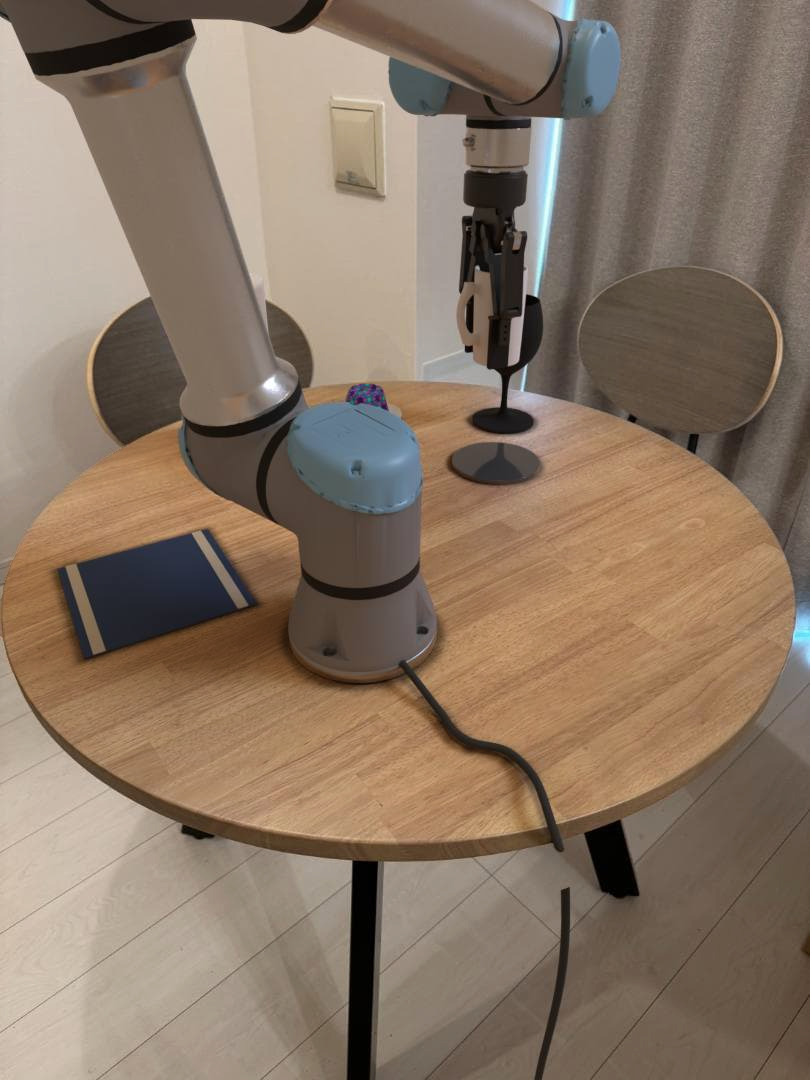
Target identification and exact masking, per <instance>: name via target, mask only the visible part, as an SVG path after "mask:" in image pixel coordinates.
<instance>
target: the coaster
mask: <svg viewBox="0 0 810 1080" xmlns="http://www.w3.org/2000/svg"><path fill="white" fill-rule="evenodd" d="M451 465H452V468H453V469H454V471H455V472H456V473H458V475H460V476H462V477H464V478H466V479H468V480H471V481H474V482H478V483H481V484H482V483H483V484H487V485H488V484H489V485H511V484H518V483H522V482H525V481H528V480H530V479H532V478H534V477H535V476H536V475H537V474H538V473H539V471H540V467H541V461H540V458H539V457H538V455H536V453H534V452H533V451H531V450H530V449H528V448H525V447H524V446H520V445H517V444H513V443H509V442H501V441H500V442H499V441H485V442H484V441H483V442H476V443H471V444H468V445H465V446H463V447H461V448H459V449H457V450H456V451H455V452H454V454H453V455H452V457H451Z"/></svg>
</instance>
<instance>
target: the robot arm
mask: <svg viewBox="0 0 810 1080" xmlns="http://www.w3.org/2000/svg"><path fill="white" fill-rule="evenodd" d="M0 18H2V19H3V20H4V21H7V22H8V23H10V24H11V26H12V29H13V31H14V33H15V36H16V38H17V40H18V42H19V45H20V47H21V49H22V51H23V54H24V55H25V58H26V61H27V62H28V65H29V67H30V70H31V72H32V74H33V76H34V79H35V80H36V81H38V82H40V83H42V84H43V85H45V86H46V87H48V88H50V89H51V90H53V91H55V92H56V93H58V94H60V95H62V96H63V97H64V98H65V99H66V100H67V102H68V103H69V105H70V107H71V109H72V111H73V114H74V116H75V118H76V120H77V123H78V125H79V128H80V130H81V133H82V135H83V138H84V140H85V143H86V144H87V147H88V149H89V152H90V154H91V157H92V159H93V161H94V164H95V167H96V169H97V171H98V173H99V176H100V178H101V181H102V183H103V186H104V188H105V190H106V193H107V195H108V197H109V200H110V202H111V205H112V207H113V210H114V212H115V214H116V217H117V219H118V222H119V224H120V226H121V228H122V231H123V233H124V236H125V239H126V240H127V243H128V245H129V247H130V250H131V253H132V255H133V257H134V260H135V263H136V265H137V267H138V269H139V272H140V274H141V276H142V278H143V282H144V284H145V286H146V288H147V291H148V293H149V295H150V298H151V300H152V303H153V305H154V307H155V310H156V312H157V315H158V317H159V319H160V322H161V324H162V327H163V329H164V331H165V334H166V336H167V339H168V341H169V343H170V347H171V348H172V350H173V353H174V355H175V357H176V361H177V362H178V365H179V367H180V370H181V372H182V374H183V377H184V379H185V381H186V386H185V388H184V389H183V391H182V393H181V395H180V397H179V409H180V412H181V416H180V419H181V421H182V424H181V426H180V427H179V428H178V429H177V438H178V439H177V442H178V449H179V452H180V455H181V458H182V460H183V461H182V462H183V463H184V465H185V467H186V468H187V469H188V471H189V472H190V474H191V475H192V476H193V477H194V478H195V479H196V480H197V481H198V482H199V483H201V484H202V485H203V486H204V487H205V488H206V489H207V490H208V491H211V492H212V493H213V494H214V495H216V496H219V497H220V498H223V499H225V500H227V501H230V502H232V503H235V504H236V505H238V506H240V507H242V508H244V509H246V510H248V511H250V512H252V513H254V514H256V515H258V516H260V517H262V518H264V519H266V520H268V521H270V522H271V523H274V524H276V525H277V526H280V527H282V528H284V529H285V530H287V531H289V532H291V533H292V534H294V535H295V536H296V538H297V543H298V554H299V563H300V579H299V581H298V586H297V589H296V592H295V595H294V599H293V602H292V606H291V609H290V612H289V616H288V627H287V630H288V637H289V639H288V640H289V645H290V649H291V652H292V654H293V655H294V657H295V658H296V660H297V661H298V662H299V663H300V664H301V665H302V666H303V667H305V668H306V669H307V670H309V671H311V672H313V673H314V674H316V675H318V676H321V677H323V678H326V679H329V680H332V681H336V682H343V683H352V684H366V683H367V684H368V683H377V682H382V681H388V680H390V679H391V680H392V679H394V678H396V677H400V676H402V675H404V674H406V676H407V678H409V680H410V681H411V683H413V685H414V686H415V687H416V689H417V690H418V692H419V693H420V694H421V696H423V698H424V699H425V701H426V702H427V703H428V705H429V706H430V707H431V708H432V710H433V711H434V712H435V714H436V715H437V716H438V718H439V719H440V720H441V722H442V723H443V725H444V726H445V728H446V730H447V731H448V732H449V733H450V734H451V735H452V736H453V738H455V739H456V740H458V741H459V742H461V743H462V744H464V745H465V746H468V747H471V748H474V749H479V750H483V751H490V752H494V753H498V754H501V755H504V756H506V757H508V758H509V759H510V760H512V762H514V763H515V764H516V765H517V766H518V767H519V768H520V769H521V770H522V771H523V772H524V773H525V774H526V776H527V777H528V779H529V780H530V782H531V784H532V785H533V787H534V789H535V792H536V794H537V797H538V800H539V804H540V807H541V810H542V814H543V817H544V820H545V823H546V826H547V830H548V832H549V836H550V838H551V841H552V845H553V848H554V849H555V851H557V852H558V853H564V851H565V846H564V843H563V839H562V836H561V834H560V831H559V828H558V825H557V821H556V819H555V816H554V812H553V809H552V806H551V803H550V800H549V796H548V794H547V791H546V788H545V786H544V784H543V782H542V780H541V778H540V776H539V775H538V774H537V771H536V770H535V769H534V768H533V767H532V765H531V764H530V762H528V761H527V760H526V759H525V758H524V757H523V756H521V754H519V753H518V752H517V751H515V749H512V748H511V747H509V746H507V745H504V744H501V743H498V742H493V741H492V742H491V741H486V740H480V739H476V738H473V737H471V736H469V735H467V734H465V733H464V732H462V731H461V730H460V729H458V727H457V726H456V725H455V724H454V722H453V721H452V719H451V718H450V717H449V715H448V714H447V712H446V711H445V710H444V708H443V707H442V706H441V704H440V703H439V702H438V701H437V699H436V698H435V697H434V696H433V694H432V693H431V692H430V689H428V688H427V686H426V685H425V684H424V682H423V681H422V680H421V678H420V677H419V676H418V675H417V674H416V672H415V671H414V670H413V669H415V668H416V667H418V666H420V664H422V663H423V662H424V661H425V660H426V659H427V658H428V657H429V656H430V654H431V653H432V651H433V649H434V647H435V645H436V641H437V637H438V635H437V634H438V618H437V612H436V608H435V605H434V603H433V600H432V597H431V594H430V591H429V589H428V587H427V584H426V581H425V578H424V576H423V574H422V571H421V538H422V537H421V533H422V500H423V499H422V497H423V492H422V491H423V486H424V485H423V484H424V483H423V482H424V477H423V471H424V470H423V467H422V464H421V449H420V444H419V440H418V437H417V435H416V434H415V432H414V430H413V429H412V428H411V426H410V425H409V424H408V423H407V422H406V421H404V420H403V419H402V417H401V418H399V417H398V416H396V415H394V414H393V413H391V412H389V411H386V410H384V409H381V408H379V407H375V406H372V405H367V404H362V403H360V404H359V405H351V404H350V403H349V402H346V401H334V402H332V401H331V402H325V403H324V402H323V403H320V404H316V405H314V406H311V407H309V406H308V403H307V401H306V397H305V394H304V391H303V388H302V384H301V380H300V377H299V375H298V372H297V370H296V368H295V366H294V365H293V364H292V363H290V362H289V361H287V360H285V359H283V358H281V357H278V356H276V354H275V351H274V347H273V344H272V341H271V339H270V334H269V335H268V332H269V330H268V331H267V328H266V325H265V322H264V319H263V316H262V312H261V309H260V306H259V303H258V300H257V297H256V294H255V290H254V287H253V284H252V281H251V278H250V275H249V273H250V271H249V268H248V265H247V263H246V259H245V256H244V253H243V250H242V246H241V243H240V240H239V237H238V234H237V231H236V227H235V224H234V221H233V218H232V214H231V212H230V208H229V205H228V203H227V199H226V196H225V193H224V190H223V186H222V183H221V180H220V177H219V174H218V171H217V167H216V164H215V161H214V157H213V155H212V152H211V149H210V145H209V142H208V139H207V136H206V132H205V130H204V129H205V128H204V127H203V122H202V120H201V117H200V114H199V110H198V107H197V105H196V101H195V98H194V95H193V92H192V88H191V86H190V83H189V80H188V76H187V64H188V62H189V61H188V60H189V59H190V56H191V54H192V51H193V49H194V47H195V45H196V43H197V40H198V35H197V34H196V30H195V27H194V24H193V20H213V21H215V20H217V21H218V20H219V21H220V20H221V21H235V22H236V21H237V22H245V23H251V24H254V25H257V26H262V27H265V28H267V29H270V30H273V31H275V32H278V33H281V34H285V35H297V34H300V33H303V32H304V31H306V30H308V29H310V28H311V27H315V28H317V29H320V30H322V31H324V32H327V33H329V34H331V35H335V36H336V37H339V38H342V39H344V40H347V41H350V42H352V43H355V44H357V45H359V46H362V47H365V48H367V49H370V50H371V51H375V52H377V53H380V54H382V55H385V56H387V57H389V58H388V71H387V73H388V84H389V88H390V92H391V94H392V97H393V99H394V101H395V102H396V103H397V105H398V106H399V107H400V108H401V109H402V110H403V111H405V112H406V113H407V114H411V115H414V116H424V117H426V118H427V117H436V116H438V115H457V116H459V115H461V116H465V137H463V139H462V141H461V142H462V146H463V147H464V164H465V165H466V166H467V167H469V169H467V170H466V171H465V172H464V173H463V188H462V190H463V192H462V201H463V203H464V204H465V205H466V206H468V207H471V208H473V211H472V215H470V214H469V215H462V217H461V231H462V232H461V233H462V239H461V251H460V252H461V253H460V265H459V266H460V267H459V281H458V293H459V294H460V295H461V293H462V290H463V287H464V282H473V283H474V279H475V267H476V266H477V265H478V266H479V268H480V271H483V272H488V273H489V272H490V282H491V294H492V306H493V315H492V316H488V319H489V334H488V352H487V366H486V369H487V370H489V371H491V370H494V369H499V368H507V367H508V358H509V344H510V330H511V320H512V318H515V317H521V316H522V304H523V276H524V265H525V252H526V247H527V242H528V232H527V231H526V230H520V231H519V230H518V229H517V228H516V219H515V210H516V209H517V208H518V207H521V206H523V205H524V204H525V203H526V200H527V191H528V177H529V176H528V173H527V171H526V170H524V167H527V166H528V165H529V164H530V154H531V153H530V151H531V141H532V140H531V139H532V129H533V127H532V118H544V119H545V118H547V119H563V120H564V121H570V120H571V119H592V118H596V117H597V116H598V115H600V114H601V113H603V112H604V111H605V110H606V108H607V107H609V104H610V102H611V100H612V99H613V97H614V94H615V93H616V89H617V87H618V80H619V75H620V71H621V62H622V54H621V53H622V52H621V44H620V40H619V39H620V38H619V37H618V34H617V31H616V29H615V27H613V25H612V24H611V23H609V22H607V21H605V20H597V19H596V20H595V19H587V18H585V17H583V18H581V17H580V18H579V19H577V20H568V19H564V18H563V19H562V18H561V17H558V16H557V15H555V14H554V13H552V12H551V11H548V10H546V9H545V8H543V7H542V6H540V5H538V3H535V2H534V1H532V0H0ZM465 323H466V327H467V329H468V331H469V332H470V334H471V333H473V325H474V295H472V296H471V297H470V299H469V300H468V302H467V305H466V308H465ZM464 353H466V354H470V353H471V354H472V353H473V345H471V346H466V345H464ZM570 936H571V886H568V887H565V888H563V889H560V940H559V941H560V942H559V952H558V965H557V972H556V979H555V983H554V984H555V985H554V990H553V996H552V1000H551V1006H550V1010H549V1014H548V1017H547V1023H546V1027H545V1031H544V1035H543V1040H542V1043H541V1047H540V1052H539V1055H538V1058H537V1059H538V1060H537V1064H536V1069H535V1074H534V1078H533V1080H543V1077H544V1072H545V1068H546V1065H547V1060H548V1056H549V1052H550V1048H551V1044H552V1040H553V1036H554V1033H555V1030H556V1029H555V1028H556V1026H557V1021H558V1018H559V1017H558V1016H559V1014H560V1013H559V1012H560V1008H561V1005H562V1000H563V995H564V989H565V984H566V977H567V971H568V962H569V953H570Z"/></svg>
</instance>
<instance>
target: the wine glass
mask: <svg viewBox="0 0 810 1080" xmlns="http://www.w3.org/2000/svg"><path fill="white" fill-rule="evenodd" d="M543 334H544V314H543V307H542V303H541V299H540V298H539V297H537V296H535V295H532V294H528V293H526V299H525V309H524V319H523V329H522V339H521V348H520V356H519V361H518V363H516V364H514V365H512V366H508V367H507V368H499V369H493V370H494V371H496V373H498V374H499V375H500V378H501V379H500V380H501V397H500V398H501V399H500V405H499V406H497V407H496V406H495V407H488V408H484V409H483V408H482V409H481V410H478V411H476V412H475V413H474V414H473V415H472V417H471V423H472V425H473V426H474V427H476V428H477V429H479V430H482V431H484V432H487V433H492V434H499V435H514V434H520V433H523V432H526V431H528V430H530V429H531V428H533V426H534V423H535V420H534V418H533V416H532V415H531V414H529V412H526V411H523V410H520V409H517V408H513V407H508V394H509V385H510V380H511V378H512V376H513V375H514V374H516V373H517V372H519V371H521V370H522V369H524V368H525V367H526V366H527V365H528V364H529V363H531V362H532V360H533V359H534V357H535V356H536V355H537V353H538V351H539V349H540V347H541V344H542V340H543Z"/></svg>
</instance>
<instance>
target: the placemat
mask: <svg viewBox="0 0 810 1080" xmlns="http://www.w3.org/2000/svg"><path fill="white" fill-rule="evenodd" d="M56 570H57V573H58V576H59V580H60V582H61V586H62V590H63V592H64V593H63V594H64V595H65V601H66V603H67V606H68V609H69V613H70V616H71V619H72V623H73V626H74V629H75V633H76V636H77V639H78V643H79V646H80V650H81V652H82V656H83V659H84V660H87V659H90V658H92V657H96V656H99V655H103V654H105V653H110V652H112V651H115V650H118V649H122V648H125V647H128V646H131V645H135V644H137V643H140V642H144V641H147V640H149V639H153V638H156V637H160V636H163V635H165V634H169V633H173V632H174V631H178V630H181V629H184V628H187V627H190V626H194V625H197V624H200V623H203V622H206V621H209V620H212V619H216V618H219V617H222V616H225V615H228V614H231V613H234V612H238V611H241V610H245V609H247V608H251V607H253V606H257V604H258V603H257V602H256V600H255V598H254V597H253V595H252V594H251V592H250V590H249V589H248V588H247V587H246V585H245V583H244V582H243V580H242V579H241V577H240V576H239V574H238V573H237V571H236V569H235V568H234V567H233V565H232V564H231V562H230V560H229V559H228V557H227V556H226V555H225V553H224V552H223V550H222V548H221V547H220V546H219V544H218V542H217V541H216V539H215V538H214V536H213V535H212V533H211V532H210V530H209V529H208V528H206V529H202V530H196V531H192V532H191V533H187V534H183V535H180V536H175V537H172V538H168V539H164V540H160V541H157V542H152V543H149V544H145V545H142V546H138V547H134V548H130V549H127V550H122V551H119V552H115V553H110V554H108V555H103V556H100V557H96V558H93V559H89V560H84V561H81V562H77V563H73V564H68V565H65V566H62V567H58V568H57V569H56Z"/></svg>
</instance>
